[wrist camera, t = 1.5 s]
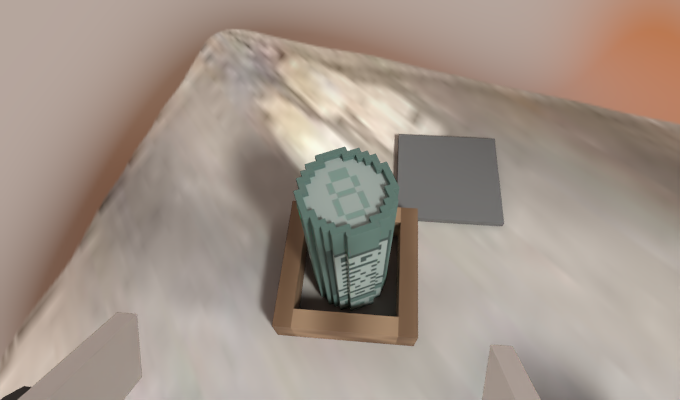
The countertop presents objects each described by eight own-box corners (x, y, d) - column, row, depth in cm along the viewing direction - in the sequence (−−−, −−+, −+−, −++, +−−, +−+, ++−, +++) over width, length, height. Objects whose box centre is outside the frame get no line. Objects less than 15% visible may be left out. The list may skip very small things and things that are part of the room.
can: (369, 236, 41) (374, 137, 28) (394, 295, 38) (413, 215, 25) (308, 257, 40) (284, 165, 27) (329, 318, 37) (313, 248, 24)
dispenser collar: (414, 223, 41) (417, 208, 39) (413, 346, 36) (417, 338, 33) (296, 216, 42) (292, 200, 40) (278, 334, 36) (272, 325, 34)
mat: (493, 142, 46) (494, 138, 45) (502, 226, 41) (504, 223, 40) (398, 137, 47) (398, 134, 46) (396, 219, 42) (396, 216, 41)
